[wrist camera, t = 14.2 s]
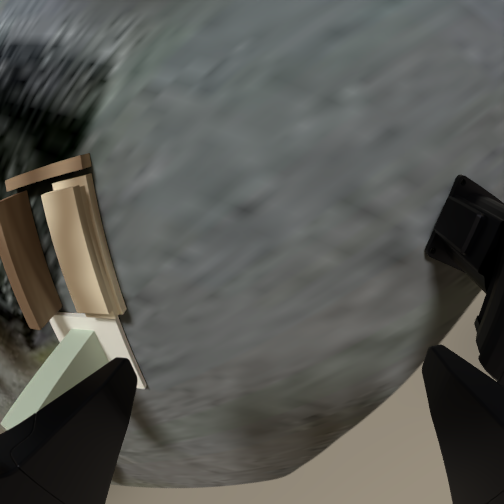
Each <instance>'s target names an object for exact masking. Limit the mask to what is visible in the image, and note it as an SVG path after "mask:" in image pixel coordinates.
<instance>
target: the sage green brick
mask: <svg viewBox="0 0 504 504" xmlns="http://www.w3.org/2000/svg"><path fill="white" fill-rule="evenodd" d="M108 362H109V361H108V359H107V357H106V355H105V353H104V351H103V349H102V347H101V344H100V342H99V340H98V338H97V336H96V334H95V331H92V330H80V329H71V330H70V331H69V333H68V334H67V335H66V336H65V337H64V339H63V340H62V341H61V342H60V344H59V345H58V346H57V347H56V348H55V350H54V351H53V352H52V353H51V355H50V356H49V357H48V359H47V360H46V361H45V362H44V364H43V365H42V366H41V368H40V369H39V370H38V371H37V373H36V374H35V375H34V377H33V378H32V379H31V381H30V382H29V383H28V385H27V386H26V387H25V389H24V390H23V392H22V393H21V394H20V396H19V397H18V399H17V400H16V401H15V403H14V404H13V406H12V407H11V409H10V410H9V411H8V413H7V414H6V416H5V417H4V419H3V420H2V422H1V424H2V426H3V427H4V428H5V429H6V430H9V429H11V428H12V427H14V426H16V425H17V424H19V423H21V422H22V421H24V420H25V419H27V418H28V417H30V416H31V415H33V414H34V413H36V412H37V411H39V410H40V409H41V408H43V407H44V406H46V405H47V404H49V403H50V402H52V401H53V400H55V399H56V398H58V397H59V396H60V395H62V394H63V393H65V392H66V391H68V390H69V389H71V388H72V387H74V386H75V385H76V384H78V383H79V382H81V381H82V380H84V379H85V378H87V377H88V376H90V375H91V374H92V373H94V372H95V371H97V370H98V369H100V368H101V367H103V366H104V365H105V364H107V363H108Z"/></svg>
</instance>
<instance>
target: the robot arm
mask: <svg viewBox="0 0 504 504" xmlns="http://www.w3.org/2000/svg"><path fill="white" fill-rule="evenodd" d="M462 179H463V183H462V184H461V180H462ZM432 248H434V249H433V251H431V252H430V250H431V249H432ZM425 252H426V253H427V254H428V255H429V256H430V257H432V258H434V259H436V260H439V261H441V262H443V263H445V264H448V265H450V266H452V267H454V268H457V269H459V270H461V271H463V272H465V273H466V274H467V275H468V276H469V277H470V278H471V279H472V280H473V281H474V282H475V283H476V284H477V285H478V286H479V287H480V288H481V289H482V290H483V291H484V292H485V293H486V296H485V299H484V302H483V305H482V308H481V311H480V314H479V316H477V318H476V321H475V328H476V331H477V336H476V343H477V346H478V350H479V353H480V355H479V361H480V363H481V365H482V366H483V367H484V369H485V370H486V371H487V372H488V373H489V374H490V375H491V376H492V377H493V378H494V379H495V380H496V381H497V382H496V381H495V380H493V379H492V378H490V377H489V376H487V375H486V374H484V373H483V372H482V371H480V370H479V369H477V368H476V367H474V366H473V365H472V364H470V363H468V362H467V361H466V360H464V359H463V358H461V357H460V356H458V355H457V354H455V353H454V352H452V351H451V350H449V349H448V348H446V347H445V346H443V345H435V346H431V347H429V349H428V351H427V354H426V357H425V360H424V363H423V366H422V374H423V379H424V383H425V388H426V393H427V398H428V403H429V408H430V413H431V417H432V420H433V424H434V427H435V430H436V434H437V438H438V441H439V445H440V449H441V453H442V456H443V460H444V465H445V469H446V473H447V477H448V482H449V486H450V492H451V496H452V501H453V504H504V203H503V202H501V201H500V200H499V199H497V198H496V197H495V196H493V195H492V194H491V193H489V192H488V191H486V190H485V189H484V188H482V187H481V186H479V185H478V184H476V183H475V182H473V181H472V180H470V179H469V178H467V177H466V176H463V175H458V176H457V177H456V179H455V182H454V184H453V187H452V189H451V192H450V194H449V197H448V198H447V200H446V202H445V205H444V207H443V209H442V212H441V214H440V216H439V219H438V221H437V223H436V225H435V229H434V231H433V233H432V235H431V237H430V239H429V242H428V244H427V246H426V248H425ZM137 382H138V380H137V375H136V373H135V371H134V369H133V367H132V364H131V362H130V360H129V359H127V358H122V357H116V358H114V359H113V360H111V361H110V362H108V363H107V364H105V365H104V366H103V367H101V368H100V369H98V370H97V371H95V372H94V373H92V374H91V375H90V376H88V377H87V378H85V379H84V380H82V381H81V382H79V383H78V384H76V385H75V386H74V387H72V388H71V389H69V390H68V391H66V392H65V393H63V394H62V395H60V396H59V397H58V398H56V399H55V400H53V401H52V402H50V403H49V404H47V405H46V406H44V407H43V408H41V409H40V410H39V411H37V412H36V413H34V414H33V415H31V416H30V417H28V418H27V419H25V420H24V421H22V422H21V423H19V424H17V425H16V426H14V427H12V428H11V429H9V430H7V431H5V432H4V433H2V434H0V504H105V502H106V498H107V494H108V491H109V487H110V484H111V480H112V477H113V473H114V470H115V466H116V463H117V459H118V456H119V453H120V450H121V446H122V443H123V440H124V437H125V434H126V431H127V427H128V424H129V420H130V416H131V411H132V406H133V401H134V397H135V392H136V387H137Z"/></svg>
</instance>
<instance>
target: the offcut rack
mask: <svg viewBox="0 0 504 504" xmlns="http://www.w3.org/2000/svg"><path fill="white" fill-rule="evenodd" d="M88 167H91V160H90V154H89V153H88V154H84V155H80V156H77V157H73V158H70V159H66V160H63V161H60V162H57V163H53V164H50V165H47V166H44V167H41V168H38V169H35V170H33V171H30V172H27V173H24V174H21V175H19V176H16V177H13V178H11V179H8V180H6V181H5V184H6V189H7V192H8V191H10V190H13V189H16V188H19V187H22V186H25V185H29V184H32V183H35V182H38V181H41V180H45V179H48V178H52V177H55V176H59V175H62V174H66V173H70V172H73V171H77V170H81V169H85V168H88ZM52 186H53V191H51V192H47V193H45V194H42V195H41V198H42V202H43V207H44V211H45V215H46V219H47V223H48V227H49V230H50V234H51V238H52V241H53V244H54V248H55V251H56V254H57V258H58V261H59V264H60V267H61V270H62V273H63V276H64V278H65V281H66V284H67V287H68V290H69V292H70V295H71V297H72V300H73V303H74V305H75V308H76V310H77V313H85V315H86V317H91V318H108V319H116V318H117V316H118V315H119V314H122V315H123V314H124V312H125V311H126V310H127V308H126V305H125V302H124V299H123V296H122V293H121V290H120V287H119V284H118V281H117V277H116V274H115V271H114V267H113V264H112V260H111V257H110V253H109V249H108V245H107V242H106V238H105V234H104V230H103V226H102V221H101V217H100V213H99V208H98V204H97V199H96V194H95V189H94V184H93V178H92V173H90V174H86V175H81V176H77V177H73V178H69V179H65V180H62V181H58V182H55V183H53V184H52ZM0 256H1V259H2V262H3V265H4V268H5V271H6V273H7V276H8V279H9V281H10V284H11V286H12V289H13V291H14V294H15V296H16V299H17V301H18V303H19V305H20V308H21V310H22V312H23V314H24V317H25V319H26V321H27V323H28V325H29V327H30V328H31V329H37V330H41V329H42V328H43V327H44V326H45V325H46V324H47V322H48V321H49V320H50V319H51V318H52V317H53V316H54V315H55V314H56V313H57V312H58V311H59V310H60V309H61V308H62V307H63V306H62V304H61V301H60V299H59V296H58V294H57V291H56V288H55V286H54V283H53V280H52V278H51V275H50V272H49V269H48V266H47V263H46V260H45V257H44V254H43V251H42V248H41V244H40V241H39V237H38V234H37V230H36V227H35V223H34V219H33V215H32V211H31V207H30V202H29V198H28V193H27V190H26V191H23V192H20V193H17V194H14V195H12V196H10V197H7V198H5V199H3V200H0Z"/></svg>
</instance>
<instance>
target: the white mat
mask: <svg viewBox="0 0 504 504" xmlns="http://www.w3.org/2000/svg"><path fill="white" fill-rule="evenodd" d="M49 321H50V323H51V325H52V327H53V329H54V332H55V334H56V336H57V338H58V340H59V342H61V341H62V340H63V339H64V337H65V336H66V335H67V334H68V333H69V331H70V330H71V329H80V330H92V331H95V334H96V336H97V338H98V340H99V342H100V344H101V347H102V349H103V351H104V353H105V355H106V357H107V359H108V361H109V362H110V361H111V360H113V359H114V358H116V357H122V358H127V359H129V360H130V362H131V364H132V367H133V369H134V371H135V373H136V375H137V380H138V382H137V387H136V388H140V389H145V388H146V386H147V384H146V382H145V380H144V378H143V376H142V373H141V371H140V369H139V367H138V364H137V362H136V360H135V357H134V355H133V353H132V350H131V348H130V345H129V343H128V341H127V338H126V336H125V333H124V330H123V328H122V325H121V323H120V320H119V317H118V316H117V318H116V319H108V318H91V317H86V315H85V314H81V313H67V312H57V313H56V314H55V315H54V316H53V317H52V318H51V319H50V320H49Z"/></svg>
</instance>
